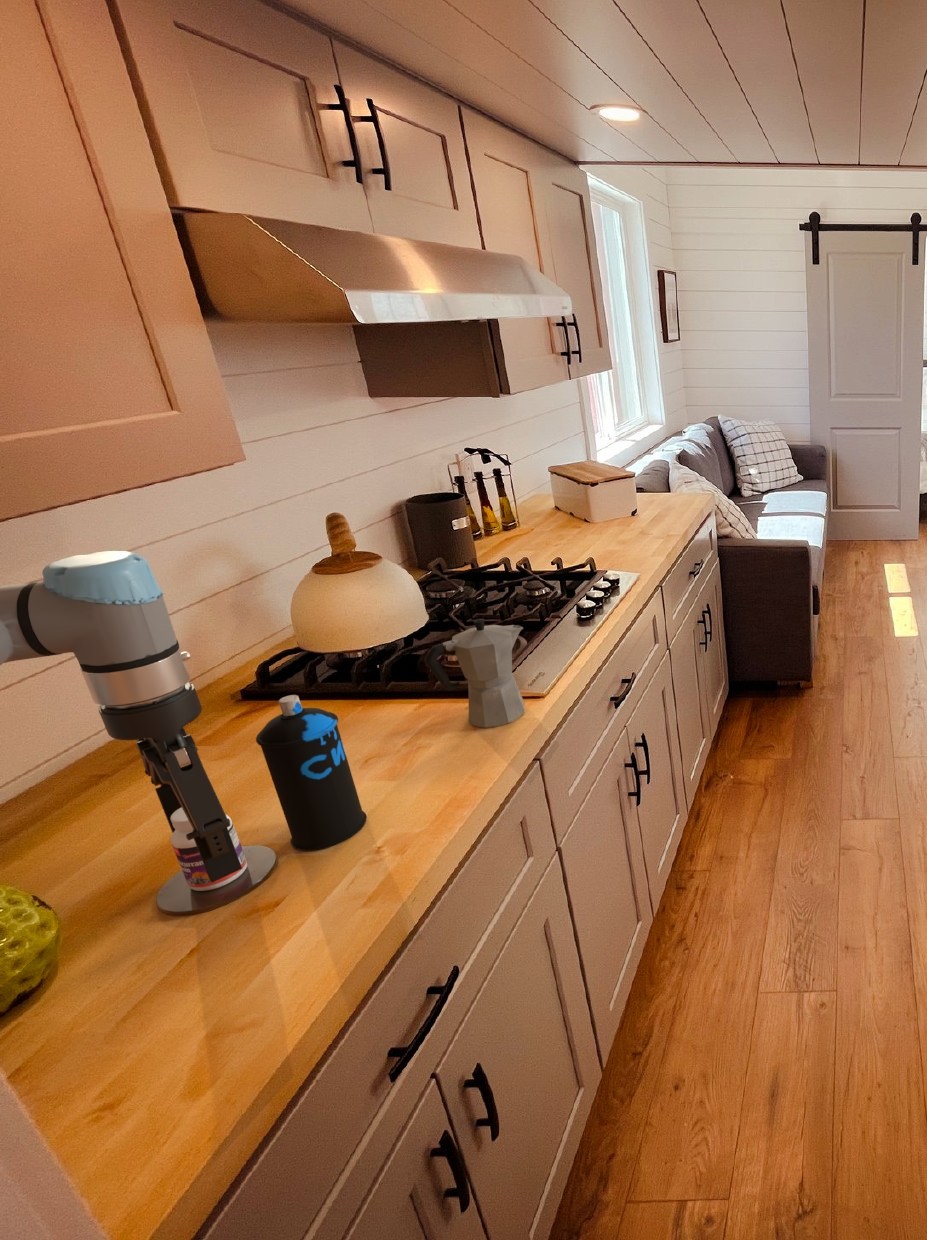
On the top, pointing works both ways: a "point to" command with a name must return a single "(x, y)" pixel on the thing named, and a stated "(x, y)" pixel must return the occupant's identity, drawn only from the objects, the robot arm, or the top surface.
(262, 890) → the top surface
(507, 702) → the coffeepot
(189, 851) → the pill bottle
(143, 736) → the robot arm
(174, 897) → the coaster
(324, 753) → the aerosol can
